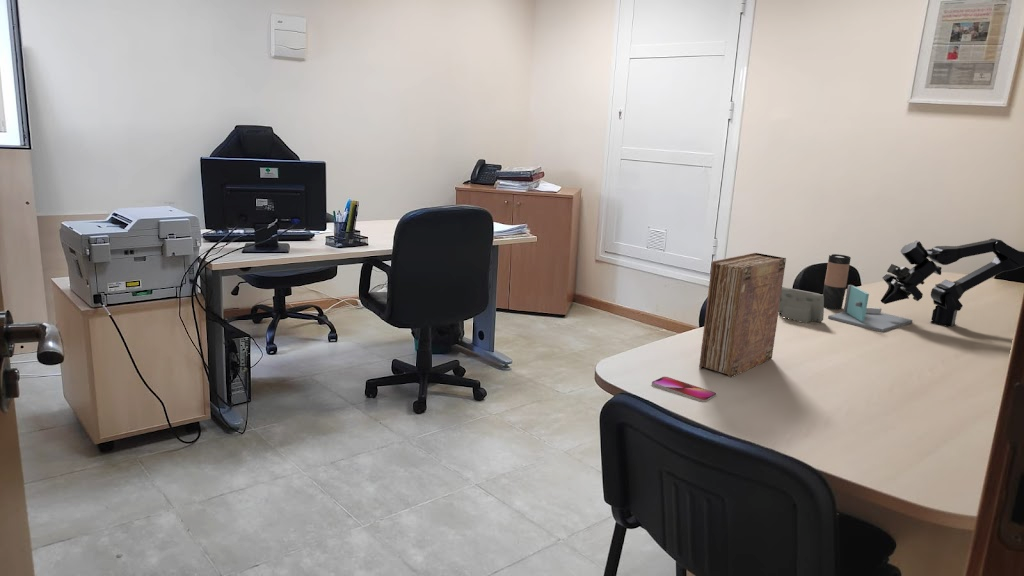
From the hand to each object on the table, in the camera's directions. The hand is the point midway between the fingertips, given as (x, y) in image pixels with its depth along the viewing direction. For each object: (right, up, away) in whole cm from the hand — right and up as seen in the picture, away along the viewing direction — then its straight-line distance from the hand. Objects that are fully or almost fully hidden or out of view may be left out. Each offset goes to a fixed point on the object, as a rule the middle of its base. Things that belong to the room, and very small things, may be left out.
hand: (882, 302), depth 252 cm
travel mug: (-10, -2, +18) cm, 21 cm away
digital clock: (-31, -6, -1) cm, 32 cm away
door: (-11, -5, 0) cm, 12 cm away
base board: (-4, -6, +1) cm, 8 cm away
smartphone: (-90, -21, -76) cm, 120 cm away
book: (-70, -16, -54) cm, 90 cm away
